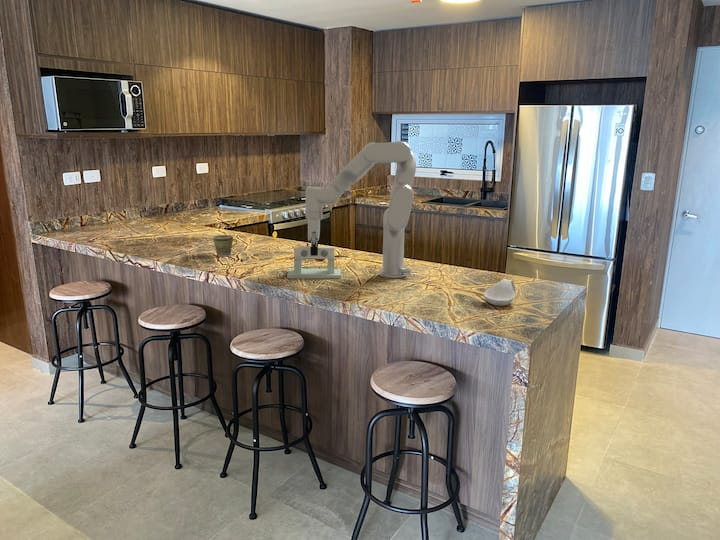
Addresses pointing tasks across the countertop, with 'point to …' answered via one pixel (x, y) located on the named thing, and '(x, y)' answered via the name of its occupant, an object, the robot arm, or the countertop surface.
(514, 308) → the countertop surface
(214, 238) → the ceramic cup
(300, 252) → the cream rectangular beam
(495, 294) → the spoon rest
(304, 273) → the display stand
